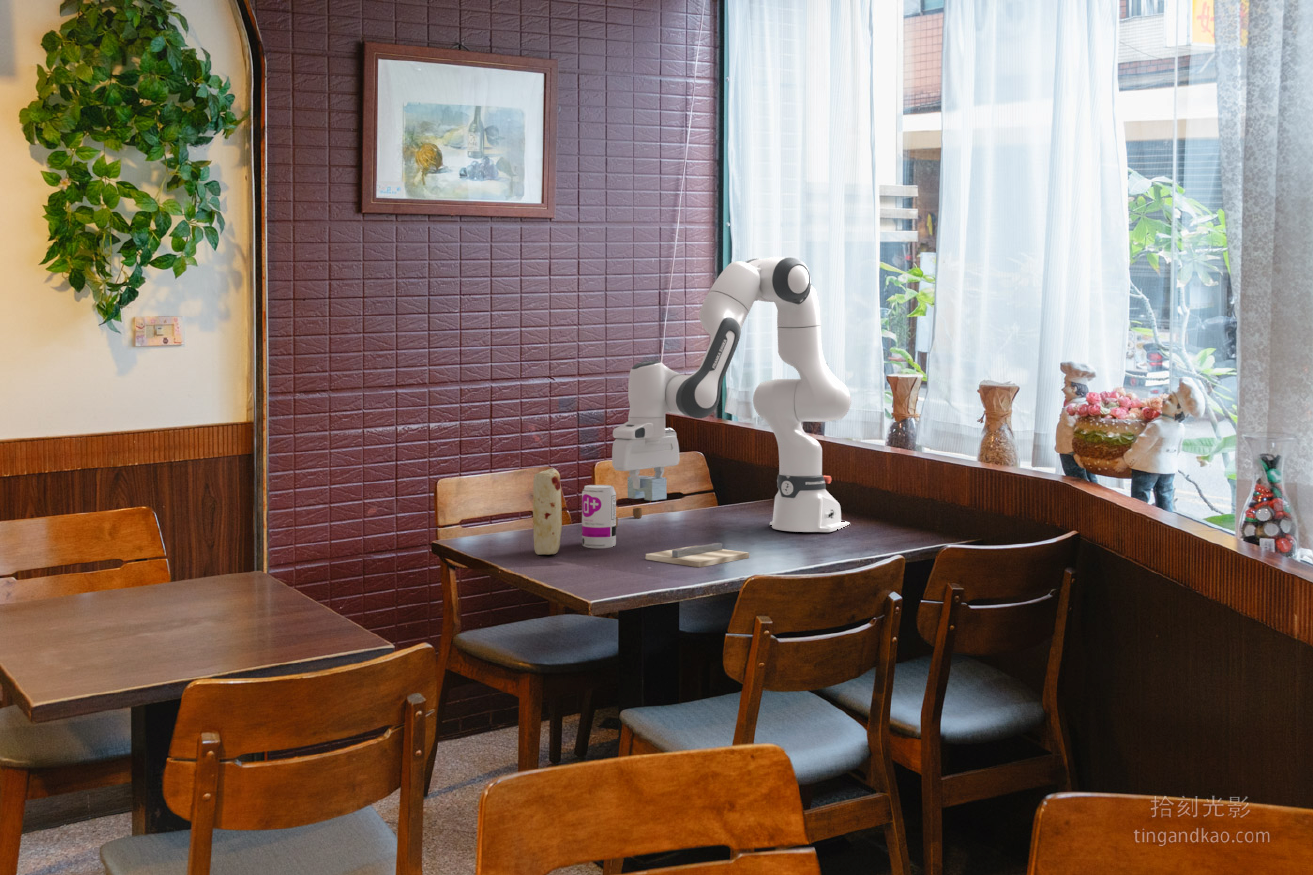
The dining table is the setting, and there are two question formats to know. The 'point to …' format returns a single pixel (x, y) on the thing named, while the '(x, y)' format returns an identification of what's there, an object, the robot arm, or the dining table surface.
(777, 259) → the robot arm
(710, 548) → the guide rail
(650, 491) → the saddle block
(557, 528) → the food model
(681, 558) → the rail base
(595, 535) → the supplement can
